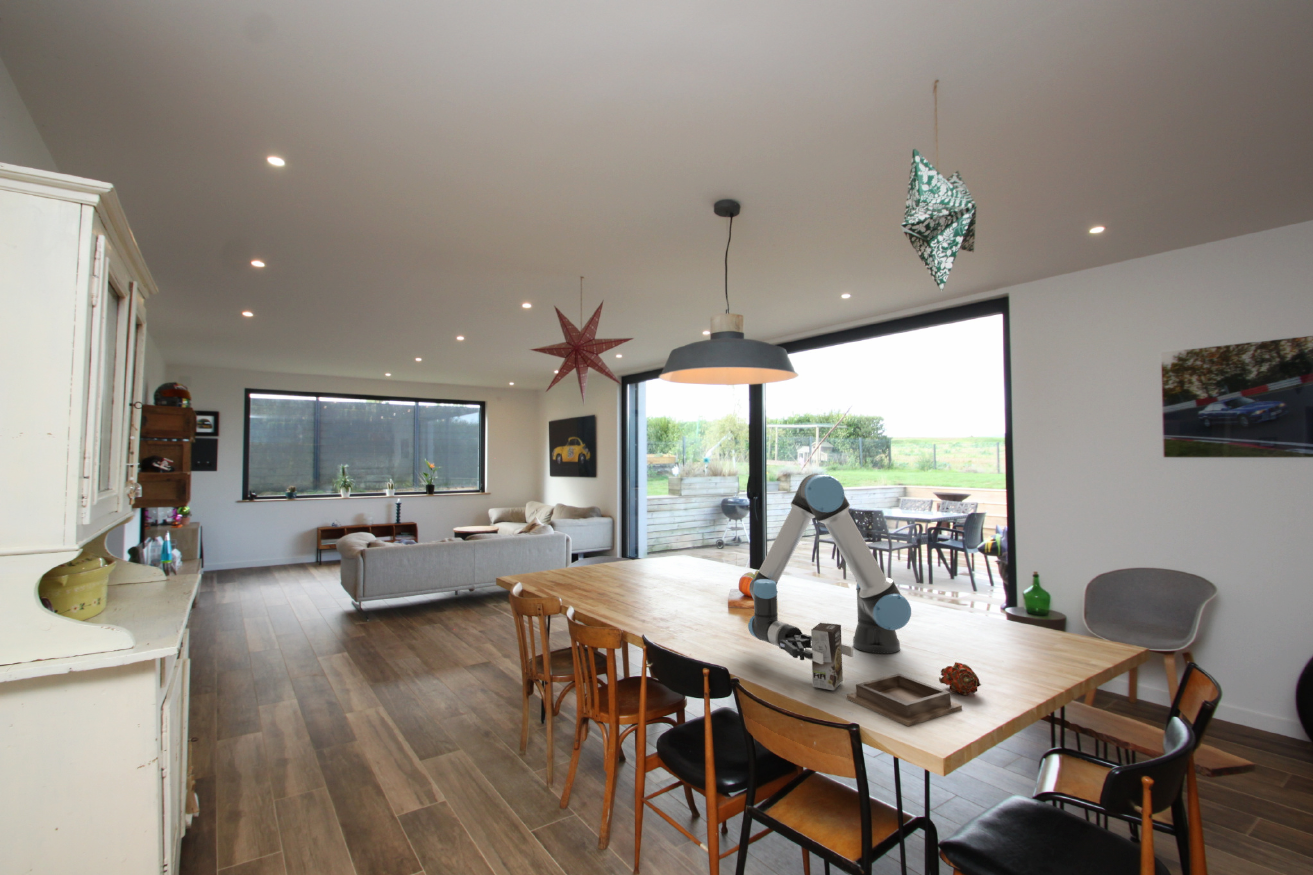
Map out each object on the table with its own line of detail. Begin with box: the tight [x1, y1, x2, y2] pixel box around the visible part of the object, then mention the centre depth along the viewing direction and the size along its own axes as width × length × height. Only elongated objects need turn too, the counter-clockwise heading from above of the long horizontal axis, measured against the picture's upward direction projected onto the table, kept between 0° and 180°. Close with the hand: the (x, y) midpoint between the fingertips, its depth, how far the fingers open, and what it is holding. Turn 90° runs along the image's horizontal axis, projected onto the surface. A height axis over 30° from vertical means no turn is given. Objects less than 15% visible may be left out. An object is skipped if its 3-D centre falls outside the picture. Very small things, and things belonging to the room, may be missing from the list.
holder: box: [845, 673, 963, 727], centre depth 160 cm, size 20×20×4 cm
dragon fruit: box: [938, 661, 982, 696], centre depth 168 cm, size 8×8×12 cm
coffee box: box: [810, 622, 844, 691], centre depth 174 cm, size 9×6×16 cm
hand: (837, 655), depth 170 cm, fingers closed on coffee box, 11 cm apart
